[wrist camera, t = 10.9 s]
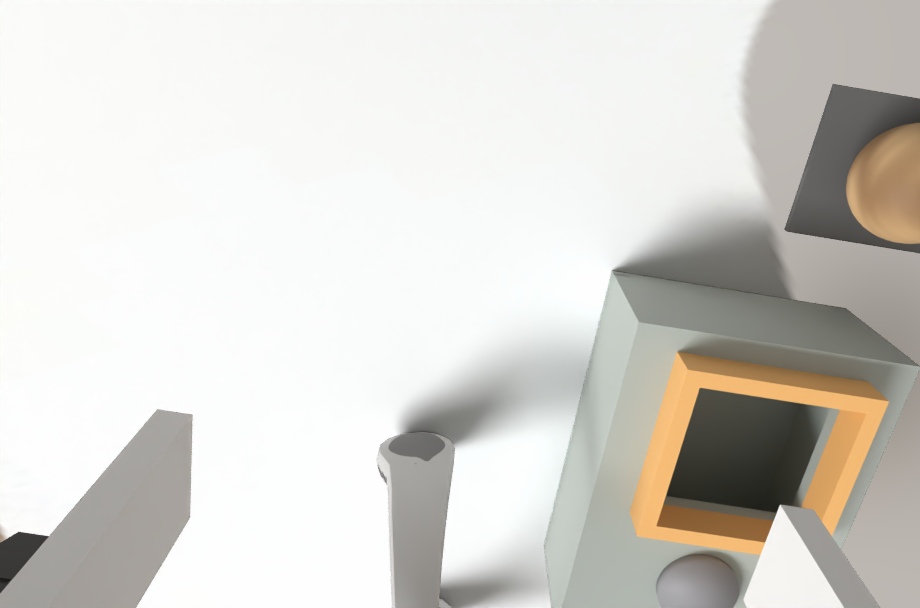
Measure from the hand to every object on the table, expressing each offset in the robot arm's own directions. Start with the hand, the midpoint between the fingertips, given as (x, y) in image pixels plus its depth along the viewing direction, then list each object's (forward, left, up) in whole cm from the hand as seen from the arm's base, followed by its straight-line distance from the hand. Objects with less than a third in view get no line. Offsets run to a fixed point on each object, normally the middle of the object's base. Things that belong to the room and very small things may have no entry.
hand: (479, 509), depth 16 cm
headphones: (+22, 0, -27) cm, 35 cm away
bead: (-6, +21, -26) cm, 34 cm away
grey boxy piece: (+12, +15, -27) cm, 33 cm away
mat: (-6, +21, -27) cm, 34 cm away
